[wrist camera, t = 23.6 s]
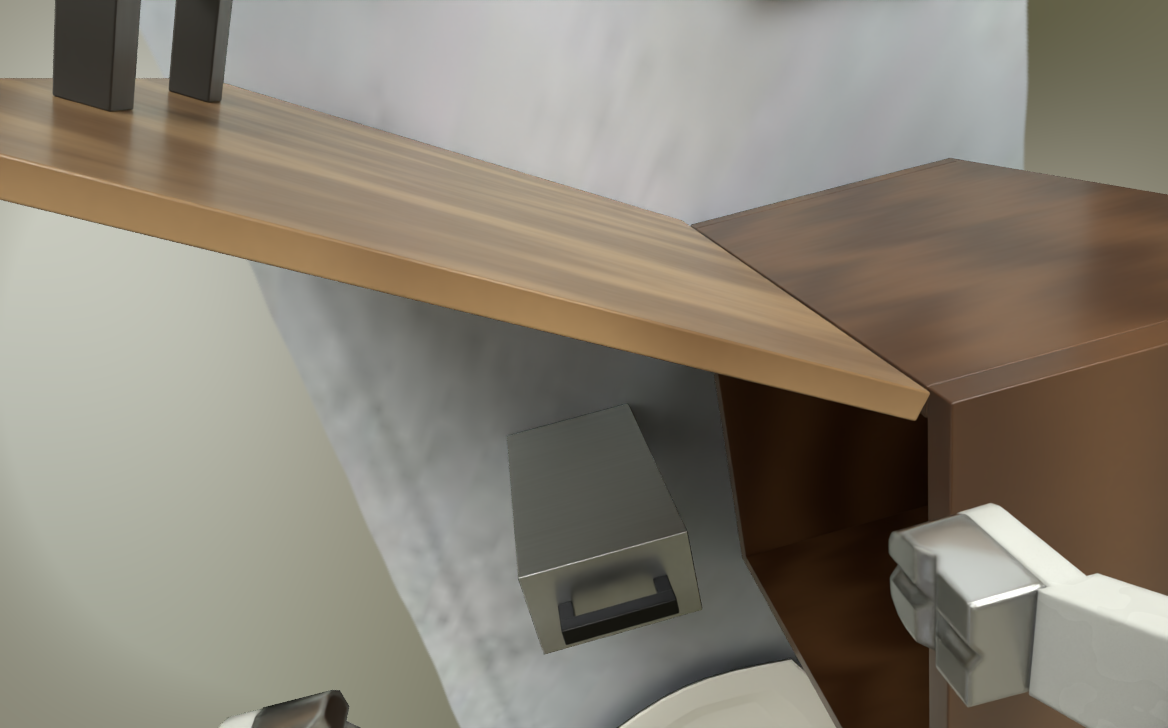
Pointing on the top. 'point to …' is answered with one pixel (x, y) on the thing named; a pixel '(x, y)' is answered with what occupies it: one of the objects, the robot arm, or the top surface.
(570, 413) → the top surface
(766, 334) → the cupboard door
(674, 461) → the top surface
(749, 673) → the plate
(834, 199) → the cupboard
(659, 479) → the grey box with handle
